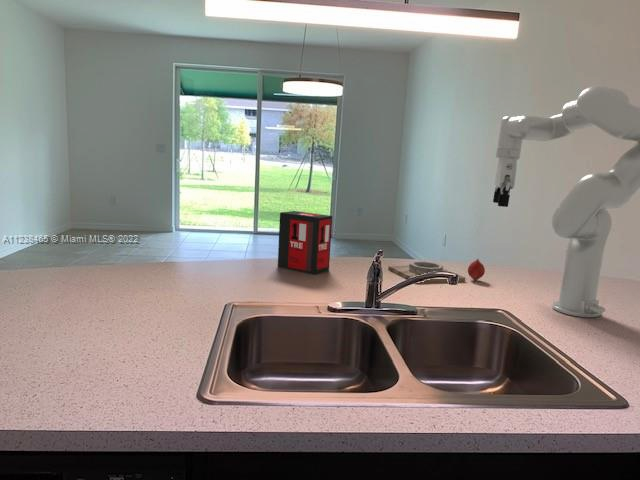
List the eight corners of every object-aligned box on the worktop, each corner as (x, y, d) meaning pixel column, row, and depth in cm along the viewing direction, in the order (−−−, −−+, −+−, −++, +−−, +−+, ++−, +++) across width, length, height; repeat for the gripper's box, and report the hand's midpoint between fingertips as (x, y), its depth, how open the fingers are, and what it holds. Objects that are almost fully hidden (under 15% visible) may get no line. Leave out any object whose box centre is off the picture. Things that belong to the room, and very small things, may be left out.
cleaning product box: (277, 267, 183) (280, 212, 180) (291, 263, 191) (294, 210, 187) (315, 274, 175) (319, 217, 171) (328, 270, 182) (332, 215, 179)
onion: (463, 278, 182) (465, 257, 180) (475, 278, 184) (478, 256, 183) (474, 283, 176) (476, 260, 175) (486, 282, 179) (489, 260, 177)
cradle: (464, 281, 178) (466, 270, 177) (415, 283, 171) (416, 272, 170) (433, 268, 196) (434, 258, 195) (388, 269, 189) (389, 259, 188)
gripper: (525, 156, 160) (516, 209, 164) (514, 154, 177) (506, 202, 180) (501, 153, 161) (492, 206, 165) (492, 152, 178) (485, 200, 181)
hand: (500, 204), depth 172 cm, fingers open, 9 cm apart
